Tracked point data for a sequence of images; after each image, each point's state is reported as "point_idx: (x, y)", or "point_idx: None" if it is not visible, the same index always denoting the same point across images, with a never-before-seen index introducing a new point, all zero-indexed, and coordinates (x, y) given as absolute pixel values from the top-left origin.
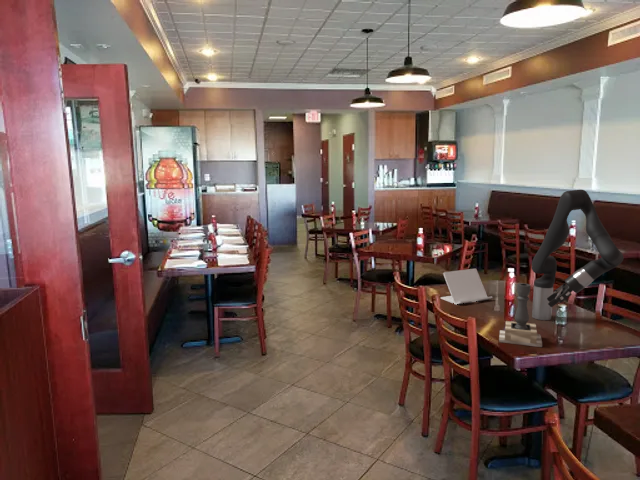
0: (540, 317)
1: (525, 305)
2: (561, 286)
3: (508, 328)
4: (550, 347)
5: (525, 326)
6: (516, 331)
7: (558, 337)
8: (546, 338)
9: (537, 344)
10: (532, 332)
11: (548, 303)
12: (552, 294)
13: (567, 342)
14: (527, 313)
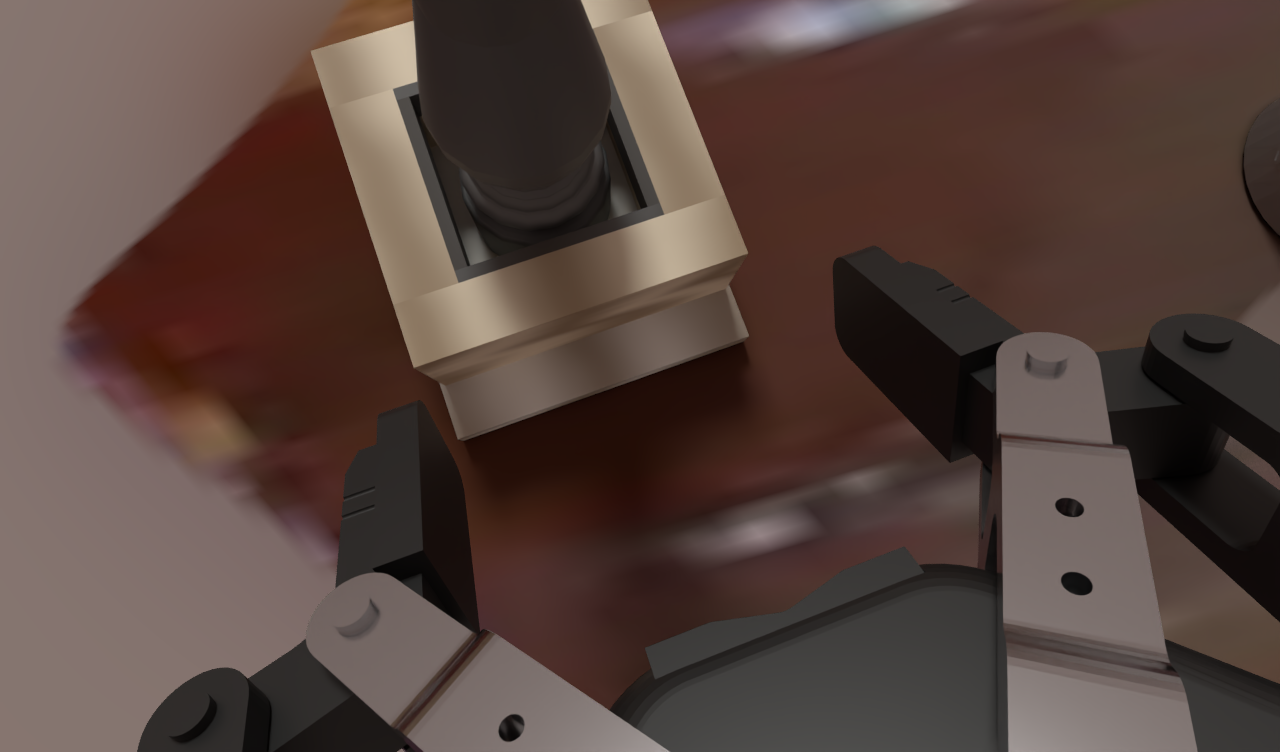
0: (1271, 176)
1: (435, 6)
2: (1167, 718)
3: (372, 66)
4: (512, 506)
5: (509, 199)
6: (349, 164)
7: (854, 483)
8: (743, 399)
9: (445, 398)
10: (404, 319)
11: (380, 420)
12: (941, 343)
13: (767, 596)
14: (494, 125)
